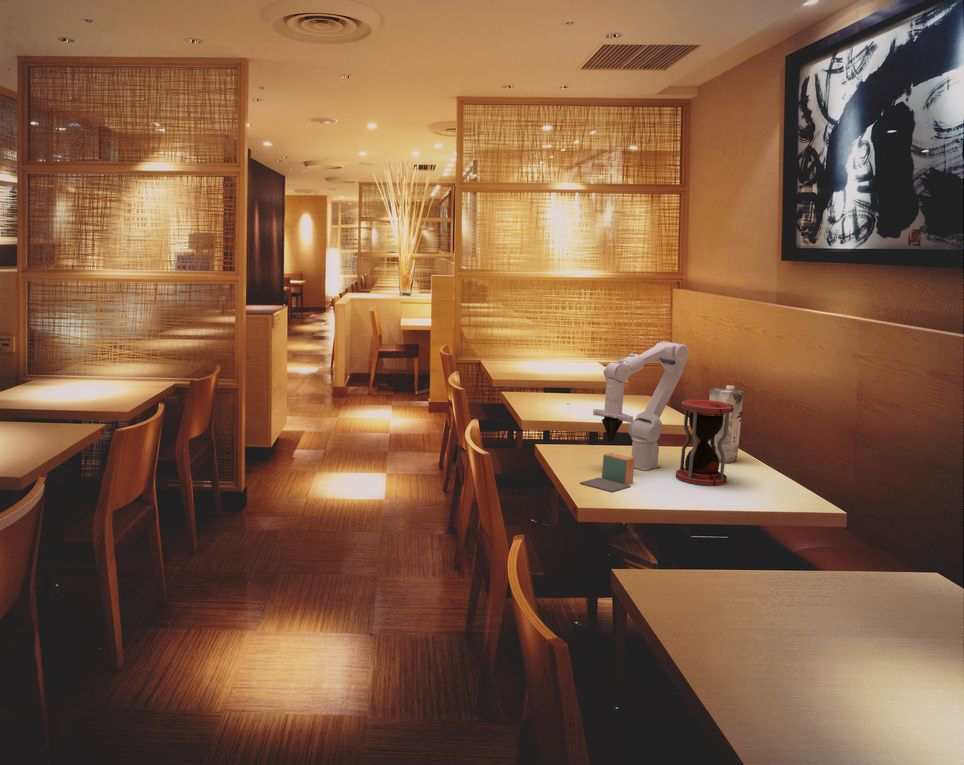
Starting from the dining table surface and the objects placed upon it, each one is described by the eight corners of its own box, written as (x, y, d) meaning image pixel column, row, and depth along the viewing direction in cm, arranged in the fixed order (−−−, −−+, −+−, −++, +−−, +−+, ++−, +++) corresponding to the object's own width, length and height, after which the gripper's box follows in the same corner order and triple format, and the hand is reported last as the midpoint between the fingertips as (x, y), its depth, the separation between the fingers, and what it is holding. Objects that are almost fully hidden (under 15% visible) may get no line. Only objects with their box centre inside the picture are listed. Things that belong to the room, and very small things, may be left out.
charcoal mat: (598, 478, 268) (598, 477, 268) (630, 486, 260) (630, 485, 260) (579, 483, 261) (579, 482, 261) (612, 492, 253) (612, 491, 253)
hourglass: (710, 488, 263) (718, 410, 259) (665, 477, 274) (672, 401, 270) (735, 480, 274) (742, 405, 270) (691, 470, 285) (697, 397, 281)
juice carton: (725, 464, 296) (732, 388, 292) (700, 458, 304) (707, 384, 300) (740, 461, 301) (747, 387, 297) (715, 455, 309) (722, 382, 305)
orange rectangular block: (608, 476, 272) (610, 452, 270) (632, 482, 266) (634, 458, 264) (601, 478, 268) (603, 454, 267) (625, 485, 262) (626, 460, 261)
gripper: (588, 397, 277) (585, 437, 279) (625, 404, 267) (621, 446, 269) (601, 395, 282) (598, 435, 284) (638, 402, 272) (634, 443, 274)
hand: (610, 440), depth 277 cm, fingers closed
